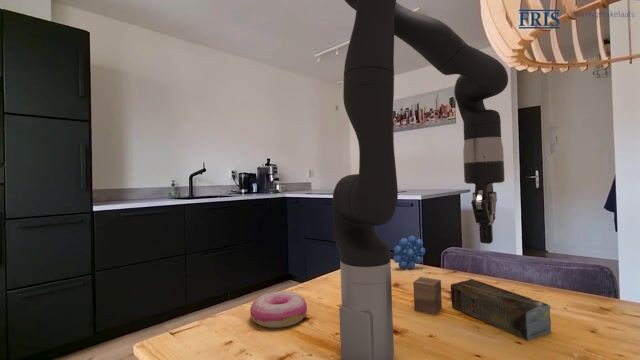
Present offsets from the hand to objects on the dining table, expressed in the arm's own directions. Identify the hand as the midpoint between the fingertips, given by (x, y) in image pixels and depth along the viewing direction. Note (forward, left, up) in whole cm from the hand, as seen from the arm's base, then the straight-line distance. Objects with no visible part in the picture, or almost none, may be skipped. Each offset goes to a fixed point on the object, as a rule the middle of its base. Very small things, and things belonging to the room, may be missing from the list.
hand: (486, 242), depth 66 cm
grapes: (+35, +32, -18) cm, 51 cm away
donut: (-21, +41, -18) cm, 50 cm away
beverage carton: (+6, 0, -19) cm, 20 cm away
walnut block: (+3, +14, -18) cm, 23 cm away
